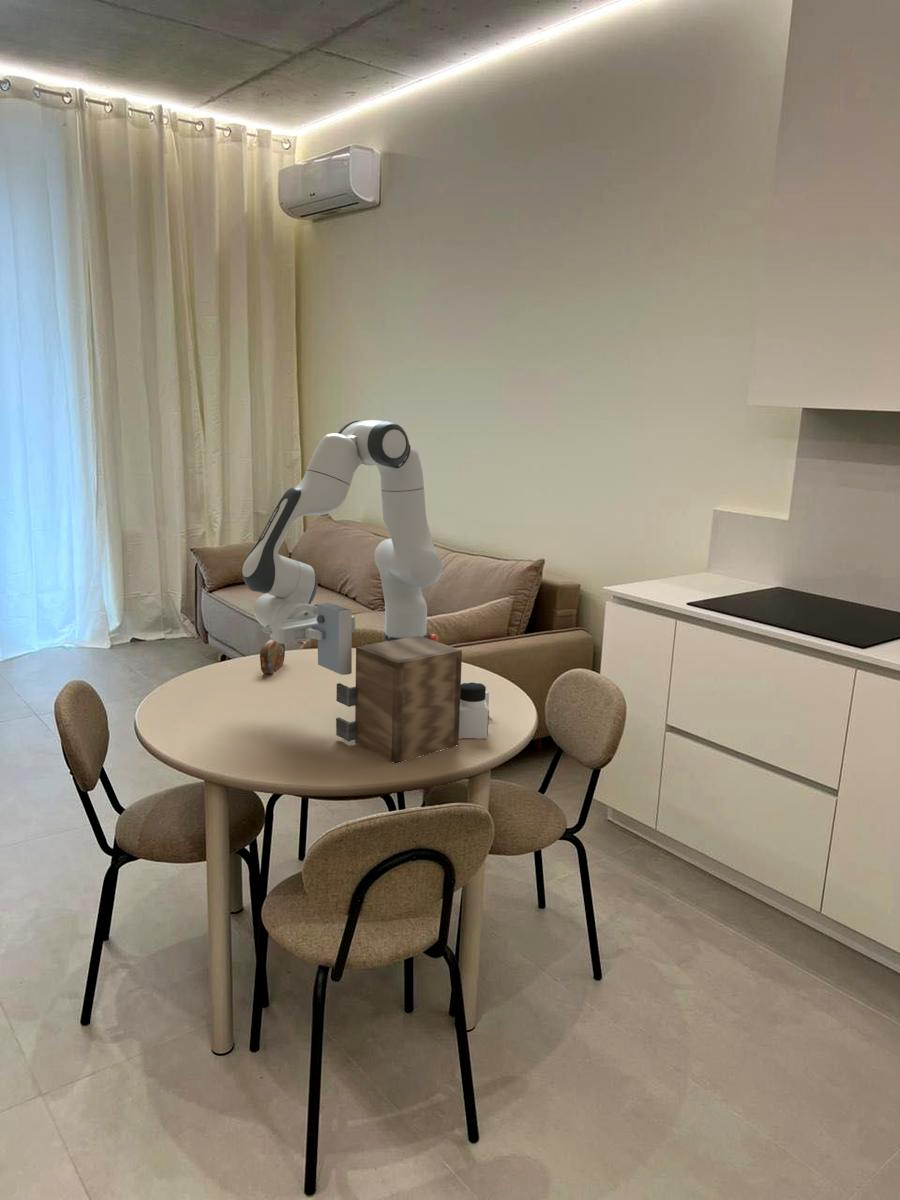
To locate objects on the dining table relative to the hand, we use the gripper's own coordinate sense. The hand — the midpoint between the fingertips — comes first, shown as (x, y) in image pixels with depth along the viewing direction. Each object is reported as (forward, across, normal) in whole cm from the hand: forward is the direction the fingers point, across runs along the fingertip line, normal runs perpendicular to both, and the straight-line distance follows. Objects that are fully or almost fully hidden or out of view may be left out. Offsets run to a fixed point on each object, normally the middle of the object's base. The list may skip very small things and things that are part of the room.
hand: (331, 634), depth 198 cm
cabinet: (+13, +9, +24) cm, 28 cm away
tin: (-52, +14, +24) cm, 59 cm away
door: (+2, 0, +8) cm, 8 cm away
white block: (+8, +35, +24) cm, 43 cm away
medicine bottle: (+18, +26, +24) cm, 40 cm away
